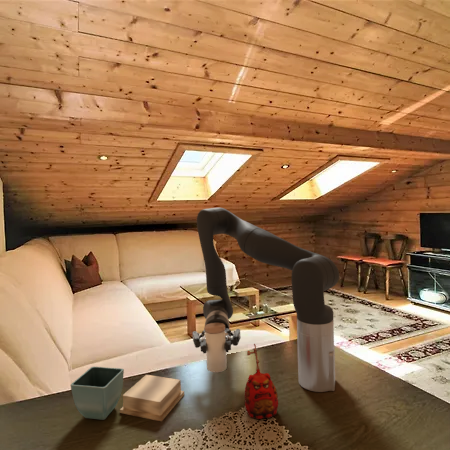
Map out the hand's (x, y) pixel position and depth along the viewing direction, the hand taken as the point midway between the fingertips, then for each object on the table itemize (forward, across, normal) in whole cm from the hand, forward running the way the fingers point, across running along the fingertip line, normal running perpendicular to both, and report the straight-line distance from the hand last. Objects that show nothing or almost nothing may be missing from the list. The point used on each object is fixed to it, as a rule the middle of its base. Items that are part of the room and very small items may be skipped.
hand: (215, 349), depth 86 cm
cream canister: (-3, 0, +6) cm, 7 cm away
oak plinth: (+4, -16, +11) cm, 20 cm away
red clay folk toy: (+9, +10, +12) cm, 18 cm away
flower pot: (+7, -28, +11) cm, 31 cm away
